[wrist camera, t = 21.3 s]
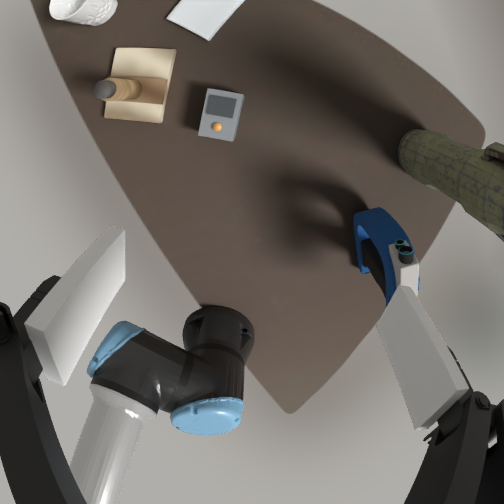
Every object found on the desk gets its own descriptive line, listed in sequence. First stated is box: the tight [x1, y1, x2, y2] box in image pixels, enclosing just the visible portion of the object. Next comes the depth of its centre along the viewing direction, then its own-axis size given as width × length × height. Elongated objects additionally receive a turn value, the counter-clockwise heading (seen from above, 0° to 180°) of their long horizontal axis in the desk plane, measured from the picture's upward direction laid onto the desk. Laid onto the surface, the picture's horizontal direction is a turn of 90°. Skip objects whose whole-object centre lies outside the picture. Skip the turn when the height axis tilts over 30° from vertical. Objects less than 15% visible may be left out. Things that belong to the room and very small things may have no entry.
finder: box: [198, 88, 245, 142], centre depth 39 cm, size 7×5×4 cm
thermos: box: [398, 129, 504, 242], centre depth 27 cm, size 9×12×35 cm
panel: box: [104, 48, 177, 123], centre depth 37 cm, size 12×10×2 cm
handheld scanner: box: [353, 207, 419, 307], centre depth 42 cm, size 5×16×20 cm, turn 16°
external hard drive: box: [166, 0, 245, 41], centre depth 31 cm, size 2×8×12 cm
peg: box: [93, 78, 142, 101], centre depth 32 cm, size 3×3×10 cm
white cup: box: [49, 0, 117, 26], centre depth 26 cm, size 8×8×10 cm
